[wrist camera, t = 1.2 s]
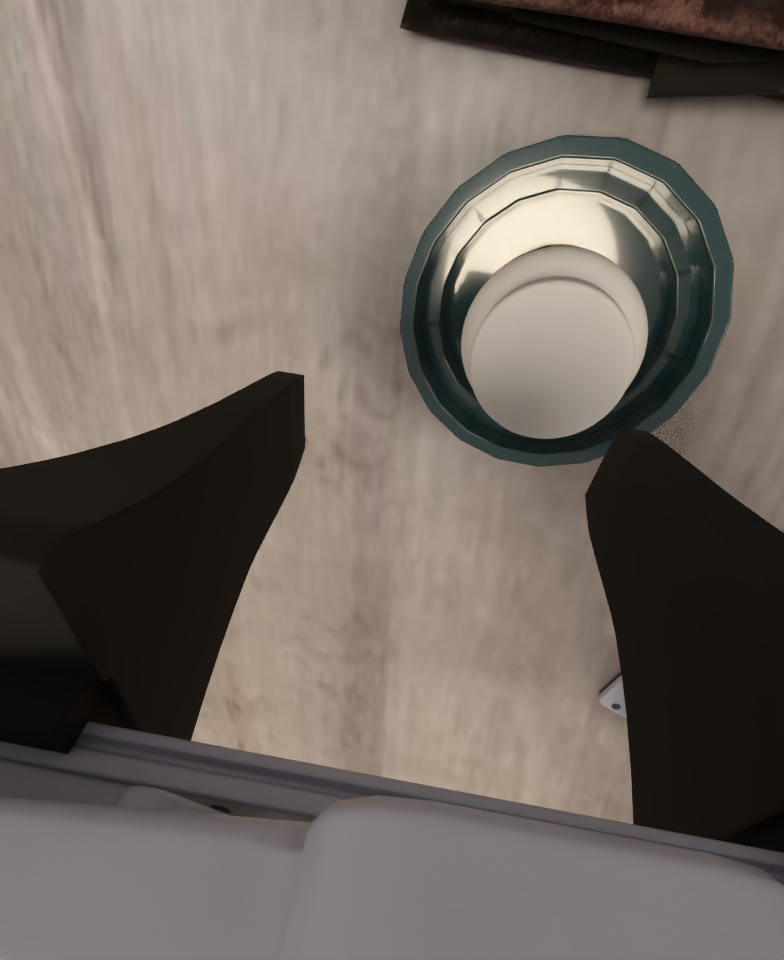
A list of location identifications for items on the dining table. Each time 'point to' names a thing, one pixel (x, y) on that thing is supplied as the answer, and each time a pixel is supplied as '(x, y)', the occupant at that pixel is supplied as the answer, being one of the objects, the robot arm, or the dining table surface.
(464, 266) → the dish
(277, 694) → the dining table surface
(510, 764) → the dining table surface
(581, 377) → the supplement bottle
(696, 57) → the diary
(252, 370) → the dining table surface
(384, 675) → the dining table surface
